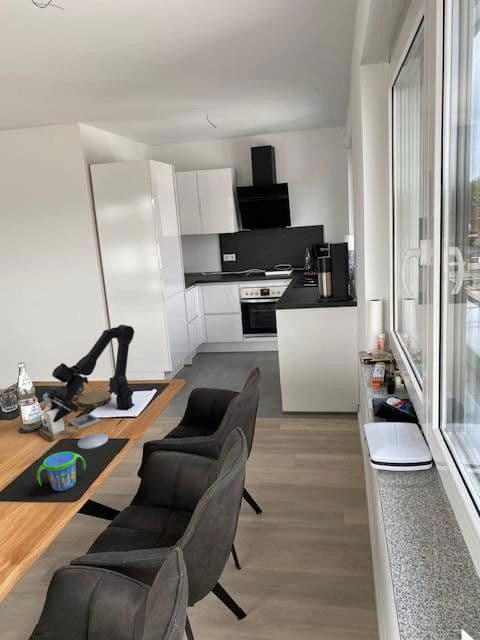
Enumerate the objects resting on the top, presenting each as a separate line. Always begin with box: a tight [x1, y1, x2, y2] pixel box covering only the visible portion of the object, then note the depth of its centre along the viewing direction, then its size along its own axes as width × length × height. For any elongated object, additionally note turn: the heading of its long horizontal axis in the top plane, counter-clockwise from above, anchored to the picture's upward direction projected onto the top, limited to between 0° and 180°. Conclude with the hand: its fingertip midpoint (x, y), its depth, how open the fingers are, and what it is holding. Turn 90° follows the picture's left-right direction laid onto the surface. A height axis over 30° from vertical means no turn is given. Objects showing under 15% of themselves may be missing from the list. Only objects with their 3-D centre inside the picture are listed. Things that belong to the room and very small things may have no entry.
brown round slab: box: [77, 390, 112, 409], centre depth 240 cm, size 16×16×3 cm
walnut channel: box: [38, 419, 80, 443], centre depth 208 cm, size 12×11×2 cm
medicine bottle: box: [62, 373, 86, 398], centre depth 253 cm, size 7×7×12 cm
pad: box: [76, 433, 109, 450], centre depth 197 cm, size 12×12×1 cm
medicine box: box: [42, 392, 62, 408], centre depth 233 cm, size 8×4×9 cm, turn 84°
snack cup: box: [36, 451, 87, 492], centre depth 164 cm, size 16×10×10 cm
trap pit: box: [67, 413, 101, 431], centre depth 216 cm, size 10×10×2 cm
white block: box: [44, 408, 65, 435], centre depth 207 cm, size 5×5×10 cm
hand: (51, 420), depth 205 cm, fingers closed on white block, 5 cm apart
